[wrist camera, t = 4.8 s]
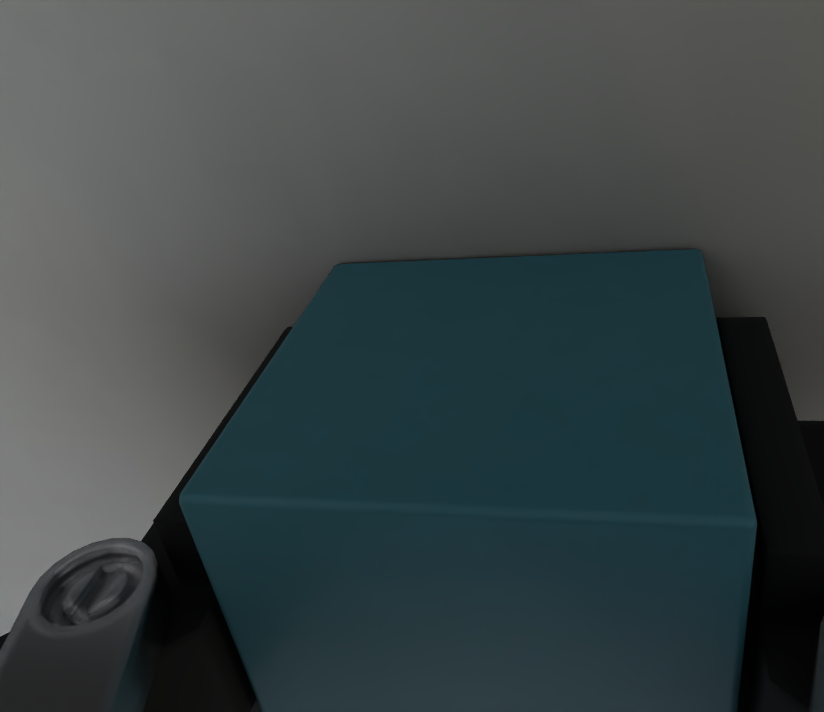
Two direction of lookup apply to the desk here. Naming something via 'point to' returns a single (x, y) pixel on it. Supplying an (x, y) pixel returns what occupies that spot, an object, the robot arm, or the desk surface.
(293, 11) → the desk surface
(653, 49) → the desk surface
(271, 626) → the block
